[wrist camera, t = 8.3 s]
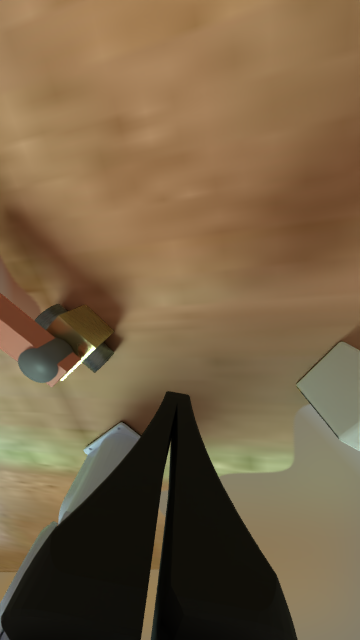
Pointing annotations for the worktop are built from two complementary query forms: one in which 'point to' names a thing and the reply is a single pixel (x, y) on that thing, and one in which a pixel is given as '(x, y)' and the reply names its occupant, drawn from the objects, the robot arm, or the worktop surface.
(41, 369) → the lever
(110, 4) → the worktop surface
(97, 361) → the valve
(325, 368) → the medicine bottle
